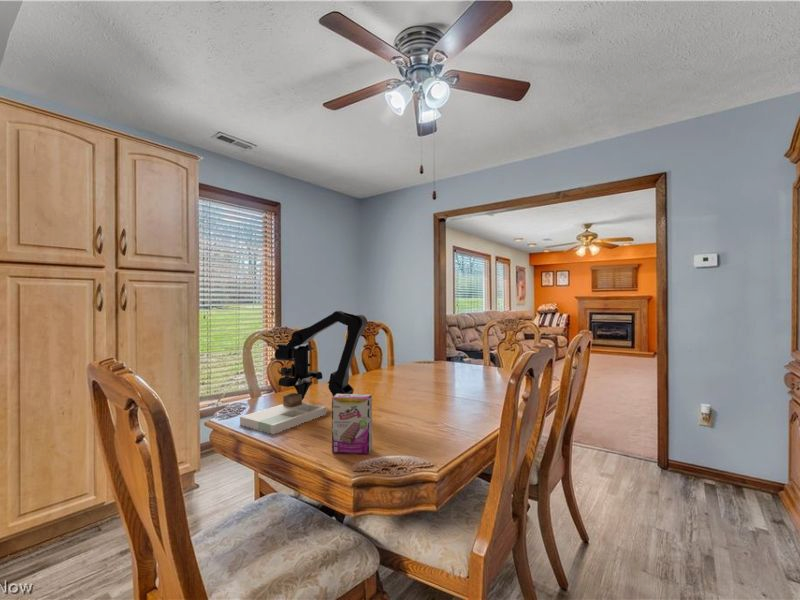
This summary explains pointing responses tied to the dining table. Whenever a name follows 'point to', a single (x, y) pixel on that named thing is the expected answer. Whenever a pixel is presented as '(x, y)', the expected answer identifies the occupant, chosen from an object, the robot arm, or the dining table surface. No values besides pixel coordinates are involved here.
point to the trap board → (281, 417)
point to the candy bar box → (352, 423)
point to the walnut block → (292, 400)
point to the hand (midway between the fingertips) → (301, 399)
